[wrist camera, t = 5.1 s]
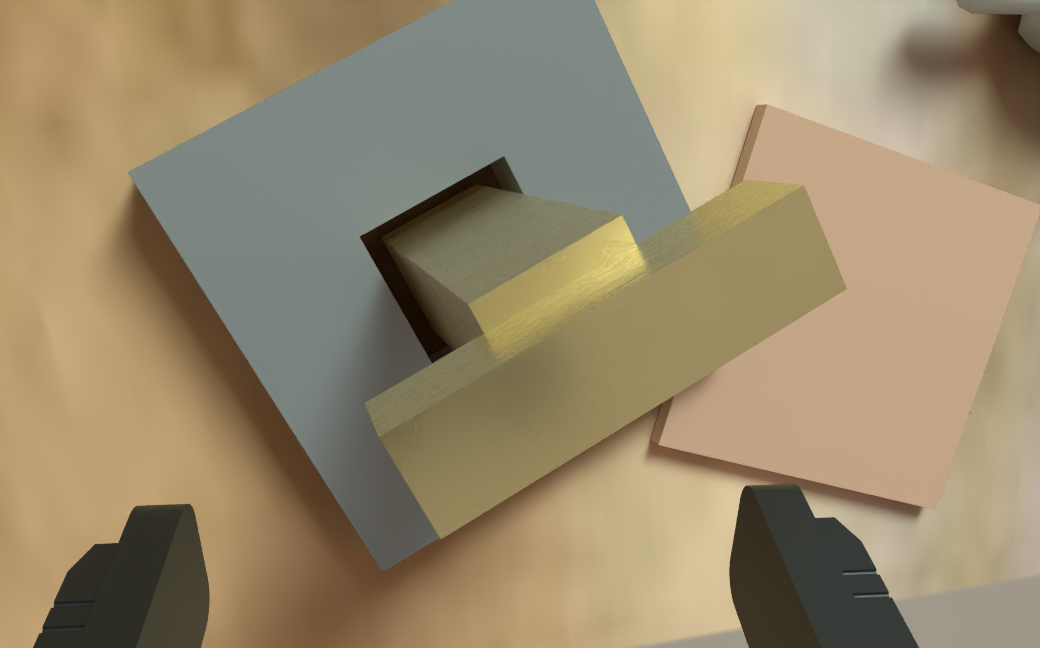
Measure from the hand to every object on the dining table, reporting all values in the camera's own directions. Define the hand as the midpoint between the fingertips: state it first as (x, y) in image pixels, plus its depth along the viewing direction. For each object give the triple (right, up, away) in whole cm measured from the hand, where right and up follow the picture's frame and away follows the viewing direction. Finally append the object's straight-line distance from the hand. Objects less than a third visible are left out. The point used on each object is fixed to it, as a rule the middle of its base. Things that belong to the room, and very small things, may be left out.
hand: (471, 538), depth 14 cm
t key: (-2, +6, +22) cm, 23 cm away
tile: (+15, +3, +27) cm, 31 cm away
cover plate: (-2, +6, +22) cm, 23 cm away
